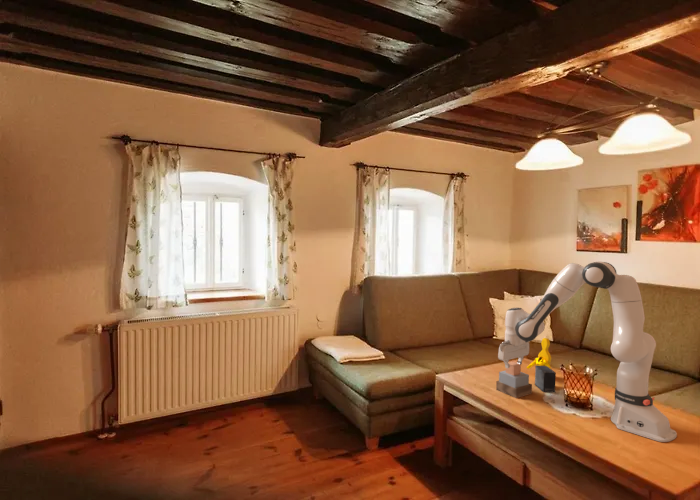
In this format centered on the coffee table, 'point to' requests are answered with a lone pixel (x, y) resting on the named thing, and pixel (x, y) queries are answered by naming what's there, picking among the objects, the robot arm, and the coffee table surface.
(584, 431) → the coffee table surface
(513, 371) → the terracotta cube
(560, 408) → the coffee table surface
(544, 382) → the small box
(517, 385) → the tower top block
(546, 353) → the figure statuette
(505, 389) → the tower base slab
